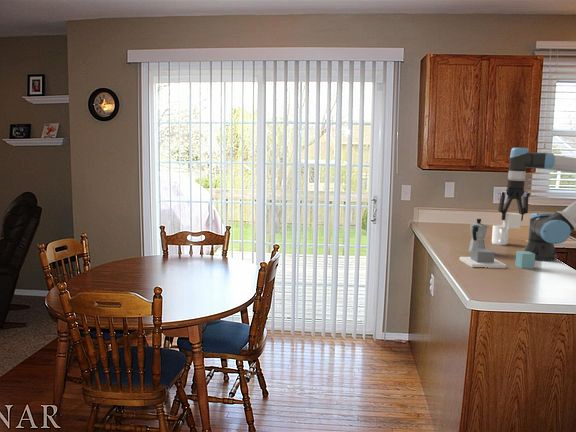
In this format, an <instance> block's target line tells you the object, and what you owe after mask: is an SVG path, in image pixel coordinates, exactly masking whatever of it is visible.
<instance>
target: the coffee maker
mask: <svg viewBox="0 0 576 432" xmlns="http://www.w3.org/2000/svg"><path fill="white" fill-rule="evenodd" d="M481 222H482V218H476V223H471V224H470V225H469V226H470V227H469V228H470V237H471V239H470V242H469V248H468V252H469V253H471V249H486V246H485V245H486V242H485V239H486V234H487V228H488V226H487V224H484V223H481Z"/></svg>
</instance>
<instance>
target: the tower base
mask: <svg viewBox="0 0 576 432" xmlns="http://www.w3.org/2000/svg"><path fill="white" fill-rule="evenodd" d="M495 254H496V252H494V251H493V250H491V249H489V248H485V249H471V252H470V256H459V261H460V262H462V263H464V264H466V265H467V266H468V267H470V268H472V267H485V268H484V269H486V268H487V267H488V268H489V269H490V268H491V269H493V268H494V269H495V268H497V269H506V268H507V264H505V263H504V262H502V261H500V260H497V259H496V258H495ZM488 268H487V269H488Z"/></svg>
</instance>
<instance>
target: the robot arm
mask: <svg viewBox="0 0 576 432" xmlns="http://www.w3.org/2000/svg"><path fill="white" fill-rule="evenodd" d="M508 165H509V166H508V174H507V179H508V180H507V184H506V190H504V191H499V194H500V198H499V204H498V209H497V211H498V213H501V220H502V225H503V227H506V226H507V217H508V214H506V213H508V209H509V208H510V205H511V203H512V201H513V200H515V201H516V203H517V205H516V206H517V209H518V214H521V215H522V217H521V222H523V219H524V215H525V214H528V213H529V198H530V195H531V194H530V192H525V184H526V183H525V180H526V173H527V172H526V171H527V169H539V170H540V169H541V170H547V171H556V172H563V173H571V174H576V157H571V156H563V155H555V154H554V153H552V152H532V151H529V149H528V148H527V147H512V148H511V150H510V154H509V164H508ZM506 196H507V198H506ZM522 196H523V199H522ZM505 199H506V200H505ZM522 201H523V202H522ZM528 230H529V231H528V239H527V240H528V241H527V243H526V246H525V248H524V250H523V251H529V252H532V253H534V254H535V261H549V260H552V261H556V260H557V252H556V248H555V245H559V244H562V243H565V242H566V241H567V240H568V239H569V238H570V236H571V233H572V232H574V231H575V230H576V200H575V201H573V202H572V203H571V204H569V205H568V206H567V207H566V208H564V209H563V210H561V211H560V210H559V211H558V210H557V211H555V212H553V213H540V212H539V213H538V212H535V213H534V212H533V213H531V214H530V218H529V227H528Z"/></svg>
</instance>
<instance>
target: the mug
mask: <svg viewBox="0 0 576 432" xmlns="http://www.w3.org/2000/svg"><path fill="white" fill-rule="evenodd" d="M502 226H503V224H493V225H492V232H491V233H492V234H491V243H492V244H493V245H497V246H506V245H508V240H509V230H510V229H508V228H505V227H502Z"/></svg>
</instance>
